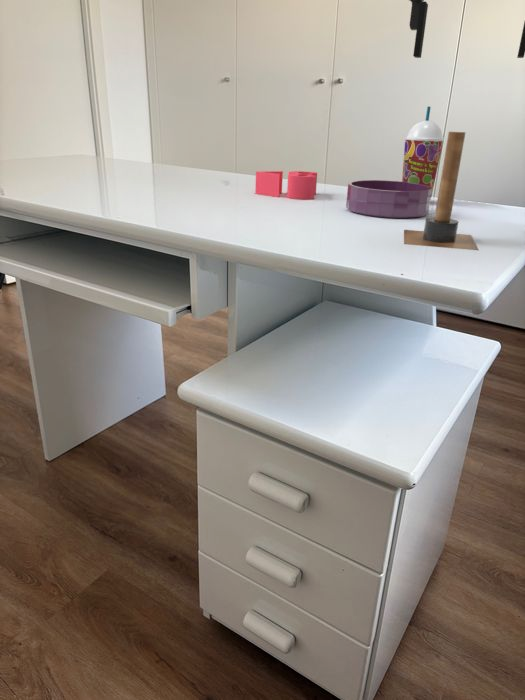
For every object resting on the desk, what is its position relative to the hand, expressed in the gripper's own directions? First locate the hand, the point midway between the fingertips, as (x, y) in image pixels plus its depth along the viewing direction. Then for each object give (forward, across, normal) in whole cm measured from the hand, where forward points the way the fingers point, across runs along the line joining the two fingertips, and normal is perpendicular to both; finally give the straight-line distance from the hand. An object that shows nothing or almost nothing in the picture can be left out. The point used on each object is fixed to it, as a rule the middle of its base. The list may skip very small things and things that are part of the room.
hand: (467, 57), depth 74 cm
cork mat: (+26, 0, +2) cm, 26 cm away
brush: (+26, 0, +2) cm, 26 cm away
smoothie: (+26, -8, +42) cm, 50 cm away
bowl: (+26, -12, +23) cm, 37 cm away
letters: (+26, -38, +34) cm, 58 cm away
